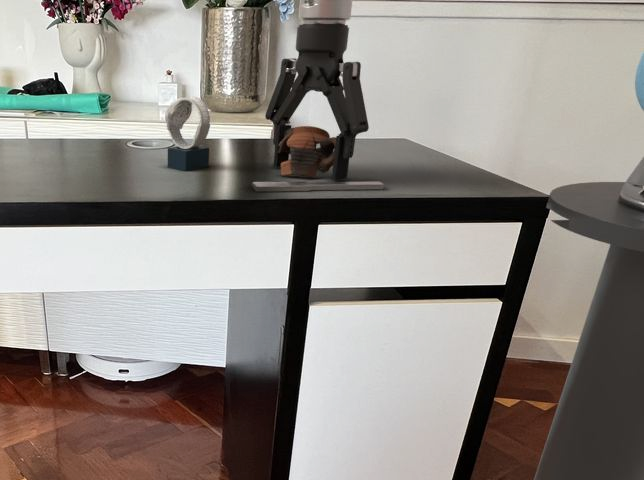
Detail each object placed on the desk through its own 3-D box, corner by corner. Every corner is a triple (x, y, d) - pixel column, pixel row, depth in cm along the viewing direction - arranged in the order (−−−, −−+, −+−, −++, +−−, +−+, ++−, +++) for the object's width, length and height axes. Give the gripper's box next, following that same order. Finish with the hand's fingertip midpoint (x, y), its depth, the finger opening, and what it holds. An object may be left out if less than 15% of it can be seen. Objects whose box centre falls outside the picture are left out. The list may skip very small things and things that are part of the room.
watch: (182, 161, 112) (183, 94, 107) (216, 168, 106) (218, 98, 102) (159, 165, 108) (158, 96, 103) (192, 172, 103) (194, 100, 98)
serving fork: (377, 186, 95) (378, 180, 95) (384, 190, 92) (385, 184, 92) (252, 187, 94) (252, 181, 93) (256, 191, 91) (256, 186, 91)
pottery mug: (262, 177, 102) (268, 127, 103) (293, 195, 109) (298, 149, 110) (329, 167, 94) (335, 113, 95) (358, 187, 101) (363, 137, 101)
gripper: (248, 22, 100) (241, 163, 109) (374, 22, 82) (352, 189, 92) (283, 23, 104) (273, 158, 113) (409, 23, 86) (385, 182, 96)
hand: (308, 172), depth 103 cm, fingers closed on pottery mug, 12 cm apart
